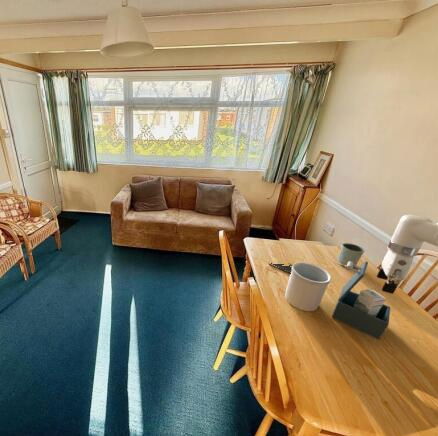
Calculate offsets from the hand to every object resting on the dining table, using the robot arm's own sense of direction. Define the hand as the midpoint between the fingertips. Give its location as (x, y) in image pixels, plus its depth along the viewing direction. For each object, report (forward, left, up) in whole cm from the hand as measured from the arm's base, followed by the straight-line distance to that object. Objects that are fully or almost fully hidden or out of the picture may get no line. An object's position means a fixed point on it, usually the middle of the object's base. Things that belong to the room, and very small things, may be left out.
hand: (384, 285), depth 91 cm
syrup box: (+2, 0, -20) cm, 20 cm away
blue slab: (+8, -1, -3) cm, 9 cm away
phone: (+34, -25, -21) cm, 47 cm away
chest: (+3, 0, -21) cm, 21 cm away
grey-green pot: (+3, -50, -21) cm, 54 cm away
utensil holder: (+24, +1, -21) cm, 31 cm away
